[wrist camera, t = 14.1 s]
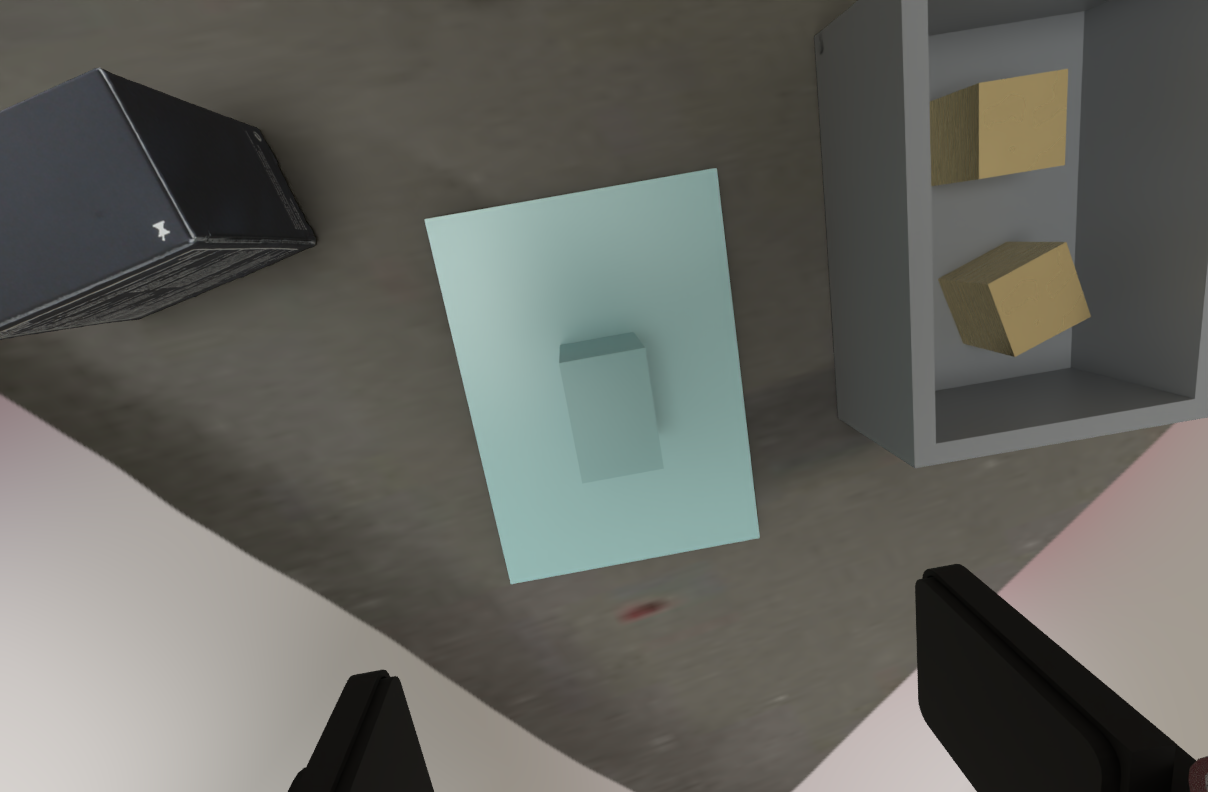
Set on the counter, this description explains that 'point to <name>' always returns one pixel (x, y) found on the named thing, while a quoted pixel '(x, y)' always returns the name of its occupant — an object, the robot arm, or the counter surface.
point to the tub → (1017, 221)
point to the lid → (601, 372)
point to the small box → (130, 204)
